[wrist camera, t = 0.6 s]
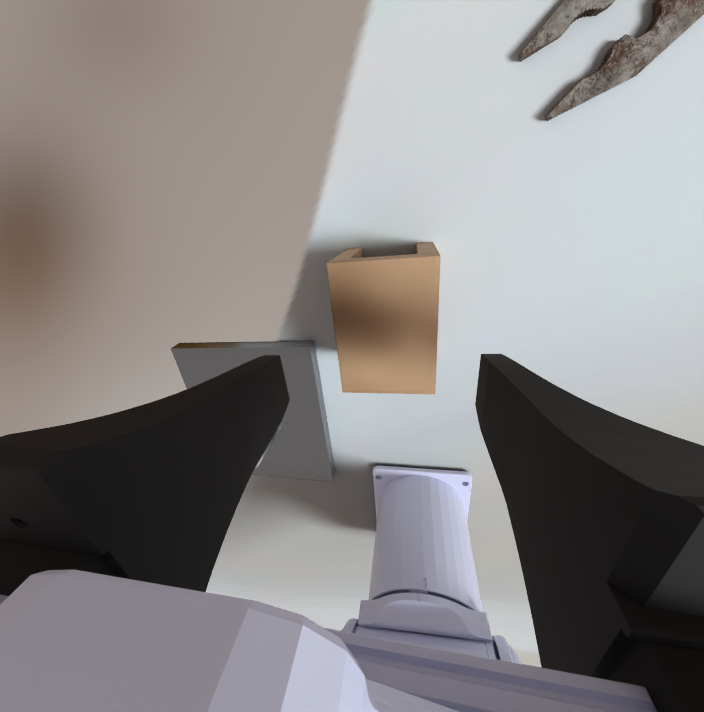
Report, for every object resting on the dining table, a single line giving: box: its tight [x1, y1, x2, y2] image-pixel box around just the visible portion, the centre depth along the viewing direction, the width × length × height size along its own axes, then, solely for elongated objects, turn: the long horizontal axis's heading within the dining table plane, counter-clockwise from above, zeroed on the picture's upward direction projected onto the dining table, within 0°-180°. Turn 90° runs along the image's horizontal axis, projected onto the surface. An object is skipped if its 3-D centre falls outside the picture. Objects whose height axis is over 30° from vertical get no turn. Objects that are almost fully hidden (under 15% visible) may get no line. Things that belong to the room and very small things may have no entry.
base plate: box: [171, 341, 335, 482], centre depth 23 cm, size 13×11×4 cm
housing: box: [326, 242, 440, 394], centre depth 17 cm, size 7×5×5 cm
